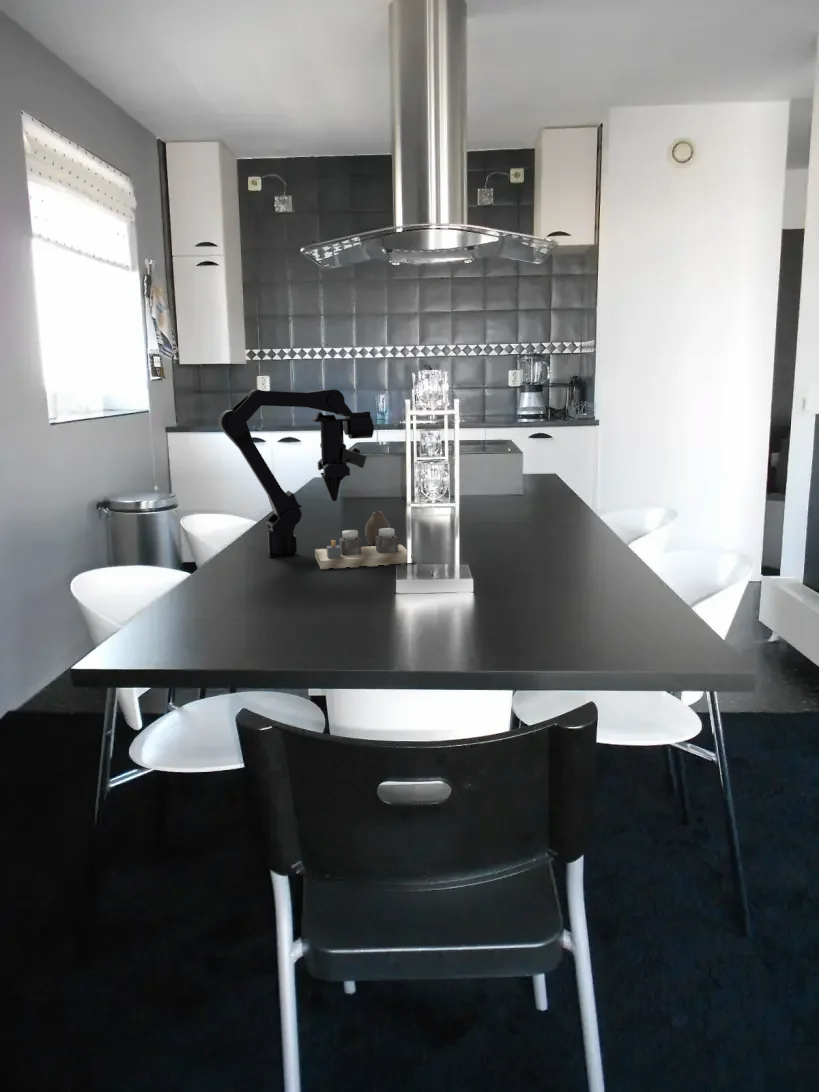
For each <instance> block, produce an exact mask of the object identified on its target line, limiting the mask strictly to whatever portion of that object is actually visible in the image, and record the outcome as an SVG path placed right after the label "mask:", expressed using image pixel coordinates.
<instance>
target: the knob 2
mask: <svg viewBox="0 0 819 1092" xmlns="http://www.w3.org/2000/svg"><path fill="white" fill-rule="evenodd" d="M394 535H395V528H391V527H390V528H381V529H379V536H382V538H392V536H394Z"/></svg>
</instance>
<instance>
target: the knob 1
mask: <svg viewBox="0 0 819 1092" xmlns="http://www.w3.org/2000/svg"><path fill="white" fill-rule="evenodd" d="M341 535H342V537H341V538H345V540H355V538H357V537H359V530H357V529H346V530H342V531H341Z"/></svg>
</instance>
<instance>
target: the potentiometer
mask: <svg viewBox="0 0 819 1092" xmlns="http://www.w3.org/2000/svg"><path fill="white" fill-rule="evenodd" d="M330 542H331V543H330V545H326V549H327V557H328V559H331V558H341V548H340V544H337V543H336V540H335V539H332V540H330ZM336 544H337V545H336Z"/></svg>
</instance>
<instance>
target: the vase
mask: <svg viewBox="0 0 819 1092" xmlns="http://www.w3.org/2000/svg"><path fill="white" fill-rule="evenodd" d="M365 524H366V525H365V529H364V535H365V539H366V541H367V542H368V544H369V545H371V546H373V545H375V546H376V536H379V529H381V528H391V525H390V522H389V521H388V519H387V518H386V517H385V516H384V513H383V512H382V511H373V512H372V515H371V516H370V517H369V519H368V521H367V522H366V523H365Z"/></svg>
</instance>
